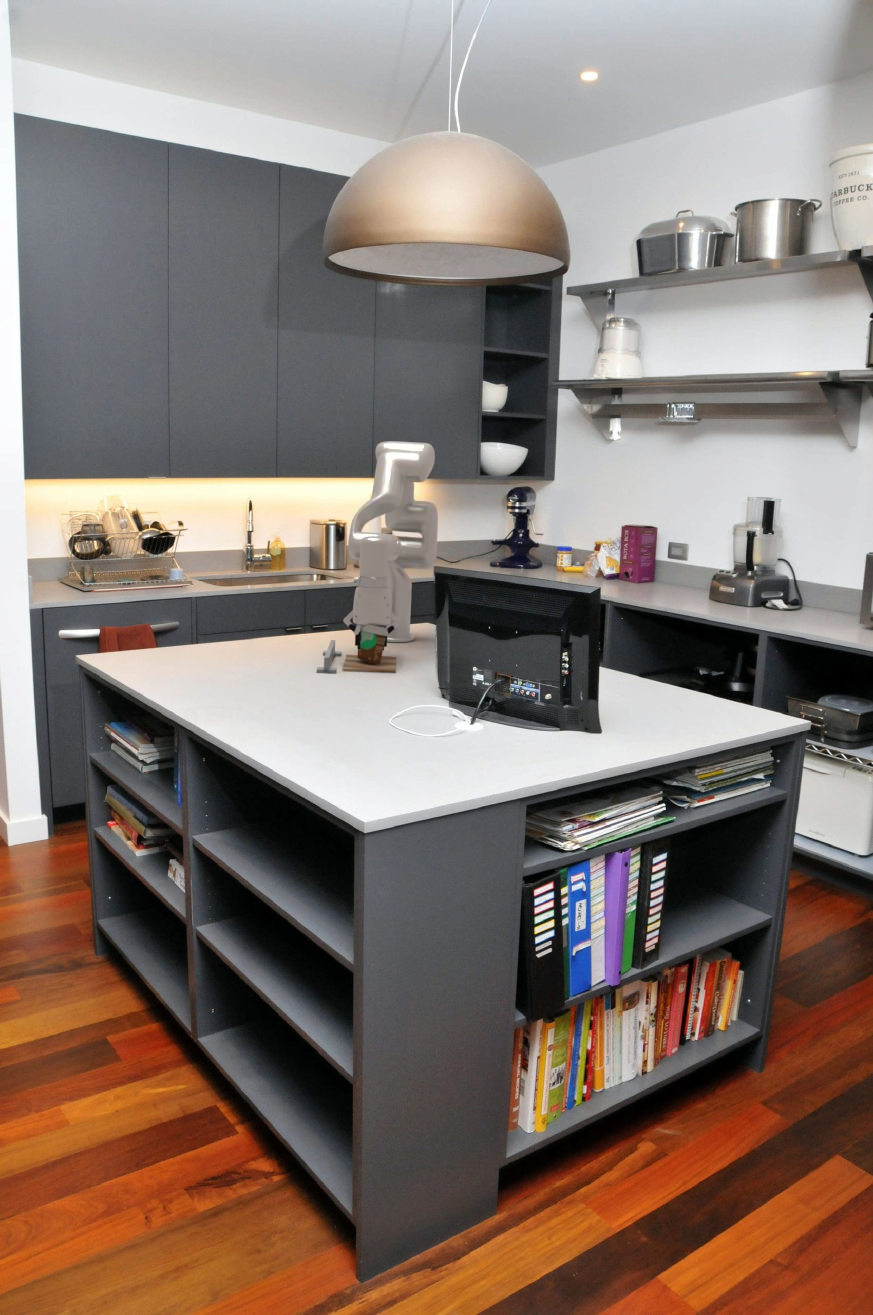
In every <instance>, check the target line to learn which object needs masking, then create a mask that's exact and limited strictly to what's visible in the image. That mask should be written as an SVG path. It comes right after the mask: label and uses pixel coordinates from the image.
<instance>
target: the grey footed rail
mask: <svg viewBox="0 0 873 1315" xmlns="http://www.w3.org/2000/svg"><path fill="white" fill-rule="evenodd" d="M342 654H343V652H342V651H340V650H337V651H336V640H335V639H331V640H330V642H329V644H328V647H327V650H323V652H322V655H323V657H324V658H323V666H317V668H316V673H321V674H324V673H325V674H336V673H337V672H338V670H337V667H332V664H333V660H334V657H342Z"/></svg>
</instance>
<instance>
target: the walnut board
mask: <svg viewBox="0 0 873 1315" xmlns="http://www.w3.org/2000/svg"><path fill="white" fill-rule="evenodd" d="M357 657H358V654H346V655H345V658H344V662H343V665H342V672H360V673H361V672H362V673H384V674H385V673H386V674H387V673H388V674H396V673H397V672H396V671H397V656H392V655H391V656H389V655H387V656H385V655H382V657H381V662H380V664H377V663H371V662H367V661H363V660H360V659H358V658H357Z"/></svg>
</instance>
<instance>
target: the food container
mask: <svg viewBox="0 0 873 1315" xmlns="http://www.w3.org/2000/svg"><path fill="white" fill-rule="evenodd" d="M387 629H388V628H384V627H381V626H374V625H370V624H367V625H361V627H360V635H361V636H360V649H357V655H358V657H357V658H358V659H360V660H363V661H367V662H371V663H377V664H380V662H381V657H382V656H383V652H384V650H383V648H384V649H385V647H384V643H385V639H386V636H387Z"/></svg>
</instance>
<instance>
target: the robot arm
mask: <svg viewBox="0 0 873 1315" xmlns="http://www.w3.org/2000/svg"><path fill="white" fill-rule="evenodd" d="M374 454H375V459H376V465H375V466H376V467H375V471H374V472H375V473H374V478H373V486H372V494H371V497H370V499H369V500H368V501H366V502H365V503H364V504H363V505H362V506H361V507H360V508H359V509H358V510H357V512H356V513H355V514H354V515H353V518H352V520H351V523H350V528H349V535H348V541H347V551H348V554H349V556H350V557H351V558H353V559H355V560H359V573H358V574H359V576H357V577H353V583H354V584H357V585H358V586H356V588H355V591H354V596H353V607H352V610H351V611H350V612H349V613H348V614H347V615H346V616H345V617H344V618H343V623H344V624H345V625H346V626H347V627H348V628H349V629H350V630H351V631H352V632H353V633H354V635H355V636H354V646H356V647H357V650H358V649H360V636H361V635H360V627H361V625H367V624H370V625H374V626H381V627H384V628H388V629H387V636H386V639H385V643H384V648H383V651H385V648H387V647H388V643H409V642H412V641H414V640H415V638H416V637H415V635H414V634H412V633H411V613H412V612H411V610H412V608H411V607H412V588H413V584H412V580H411V577H410V576H409V574H408V573H407V572H406V570H405V569H414V570H430V569H432V568H434V567H435V564H436V561H437V553H438V552H437V551H438V529H439V528H438V526H439V515H438V509H437V507H436V505H435V504H434V503H433V502H431V501H425V500H415V483H424V482H425V481H426V480H427V479H428V477H429V475H430V474H431V472H432V470H433V468H434V465H435V460H436V454H435V449H434V447H433V446H432V444H430V443H427V442H411V441H393V440H392V441H391V440H389V441H387V440H386V441H382V442H379V443H378V444H377V445H376V447H375V453H374ZM381 516H384V523H385V526H386V528H387V529H388V530H390V531H393V532H399V533H400V532H401V533H415V534H416V533H417V534H420V535H421V536H422V537H416V536H414V537H413V536H404V535H403V536H401V535H395V534H392V533H382V532H381V533H379V532H368V531H367V532H366V531H363V529H364V528H365V526H366V525H367V524H368V523H370V522H371V521H372V520H374V519H376V518H379V517H381ZM351 619H352V622H353V623H352V622H351Z"/></svg>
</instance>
